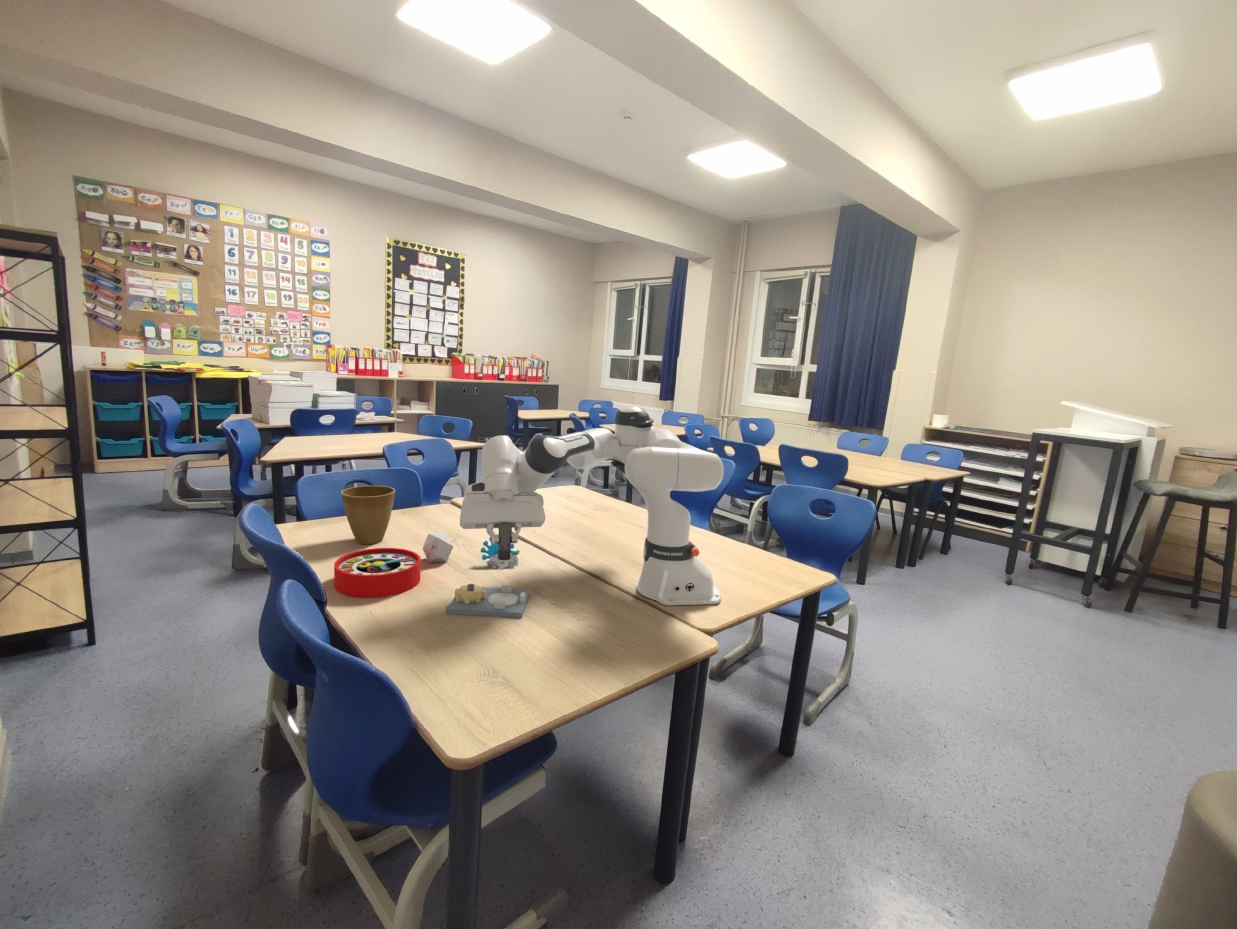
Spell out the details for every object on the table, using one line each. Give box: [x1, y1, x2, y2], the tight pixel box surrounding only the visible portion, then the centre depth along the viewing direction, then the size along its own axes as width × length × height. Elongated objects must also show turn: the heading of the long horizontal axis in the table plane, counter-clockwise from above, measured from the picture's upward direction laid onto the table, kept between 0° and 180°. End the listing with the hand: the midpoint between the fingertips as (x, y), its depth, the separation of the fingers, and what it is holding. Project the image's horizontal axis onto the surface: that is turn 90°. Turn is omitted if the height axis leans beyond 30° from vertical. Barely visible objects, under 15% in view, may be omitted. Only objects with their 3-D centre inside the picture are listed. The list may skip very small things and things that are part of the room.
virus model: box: [480, 536, 521, 567], centre depth 154 cm, size 11×6×10 cm
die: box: [422, 532, 454, 563], centre depth 152 cm, size 8×9×10 cm
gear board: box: [446, 583, 531, 619], centre depth 127 cm, size 17×13×4 cm
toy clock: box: [333, 547, 422, 599], centre depth 134 cm, size 20×6×20 cm
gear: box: [488, 522, 519, 571], centre depth 125 cm, size 7×7×10 cm
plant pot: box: [340, 485, 396, 545], centre depth 163 cm, size 15×15×16 cm
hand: (505, 542), depth 125 cm, fingers closed on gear, 3 cm apart
